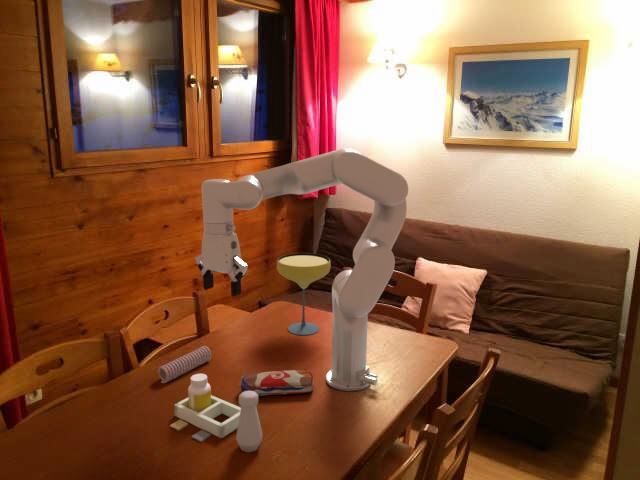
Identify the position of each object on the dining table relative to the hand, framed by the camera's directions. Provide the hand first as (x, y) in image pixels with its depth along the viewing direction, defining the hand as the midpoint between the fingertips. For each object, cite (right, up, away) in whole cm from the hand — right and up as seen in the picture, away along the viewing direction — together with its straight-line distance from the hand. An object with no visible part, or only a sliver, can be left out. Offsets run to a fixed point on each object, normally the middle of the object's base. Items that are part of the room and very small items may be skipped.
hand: (222, 291), depth 139 cm
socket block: (-1, -30, -10) cm, 32 cm away
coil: (-13, -25, +14) cm, 31 cm away
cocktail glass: (+20, -18, +44) cm, 52 cm away
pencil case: (+14, -27, +3) cm, 31 cm away
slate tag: (-2, -32, -18) cm, 36 cm away
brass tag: (-8, -30, -14) cm, 34 cm away
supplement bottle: (-4, -30, -8) cm, 31 cm away
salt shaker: (+10, -33, -21) cm, 40 cm away
